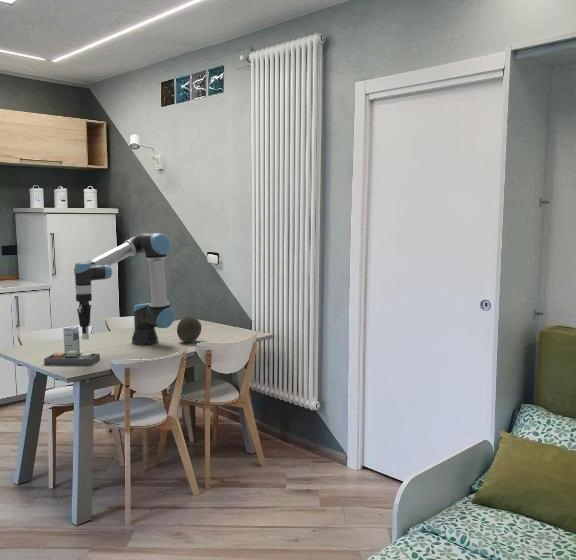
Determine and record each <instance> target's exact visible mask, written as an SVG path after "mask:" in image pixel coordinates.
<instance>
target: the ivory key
mask: <svg viewBox="0 0 576 560" xmlns="http://www.w3.org/2000/svg"><path fill="white" fill-rule="evenodd" d="M82 353H83V352H82ZM91 357H92V353H91V352H89V353H88V352H87V353H86V352H84V353H83V354H81V355H80V358H83V359H84V358H88V359H90V358H91Z"/></svg>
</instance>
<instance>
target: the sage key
mask: <svg viewBox="0 0 576 560" xmlns="http://www.w3.org/2000/svg"><path fill="white" fill-rule="evenodd" d="M77 355H78V351H68V352H67V353H66V356H67V357H75V356H77Z"/></svg>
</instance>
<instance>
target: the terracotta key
mask: <svg viewBox="0 0 576 560" xmlns="http://www.w3.org/2000/svg"><path fill="white" fill-rule="evenodd" d="M54 353H55V354H54ZM54 353H53V354H54V355H53V358H62V357H64V356H65V352H54Z"/></svg>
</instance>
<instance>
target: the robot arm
mask: <svg viewBox="0 0 576 560" xmlns="http://www.w3.org/2000/svg"><path fill="white" fill-rule="evenodd" d="M170 249H171V242H170V240H169V238H168V236H166V235H165V234H163V233H159V232H142V233H139V234H136V235H134V236H132V237H130V238H128V239H126V240H124V241H123V243H122V244H120V245H118V246H116V247H114V248H112V249H110V250H108V251H105V252H104V253H102V254H100V255H98V256H96V257H94V258H92V259H91V260H88V261H86V262H77V263H75V264H74V268H73V273H74V279H75V280H74V281H75V286H74V289H75V293H76V294H75V301H76V302H78V303H79V305H78V308H77V309H76V311H77V315H78V322H79V323H78V324H79V327H80V328H81V333H82V335H81V338H82V340H83V341H84V340H85V341H86V340H87V341H88V340H89V339H90V335H89V327H91V309H92V305H91V304H90V302H91V301H92V300H93V299H92V298H93V296H92V282H93V281H100V280H101V281H102V280H108V279H111V278H112V274H113V269H112V267H111V266H112V265H114V264H117V263H118V262H121V261H123V260H124V259H126V258H129V257H130V256H131V257H133V256H136V255H138V254H145V255H144V256H145V258H146V259H147V260H148V271H149V286H150V300H151V302H149V303H148V302H147V303H146V302H145V303H140V304H139V303H137V304H135V305H134V306H133V316H134V317H133V320H134V323H133V324H134V330H133V335H132V337H131V344H133V345H138V346H147V345H154V344H157V343H159V337H158V334H157V331H156V328H158V329H166V328H169V327H171V325H172V324H173V323H174V321H175V312H174V310H173V309H172V308H171V307H170V305H171V304H170V302H169V301H168V297H167V286H166V285H167V283H166V273H165V272H166V269H165V268H166V267H165V259H166V258H167V254H168V253H169V251H170Z"/></svg>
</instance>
